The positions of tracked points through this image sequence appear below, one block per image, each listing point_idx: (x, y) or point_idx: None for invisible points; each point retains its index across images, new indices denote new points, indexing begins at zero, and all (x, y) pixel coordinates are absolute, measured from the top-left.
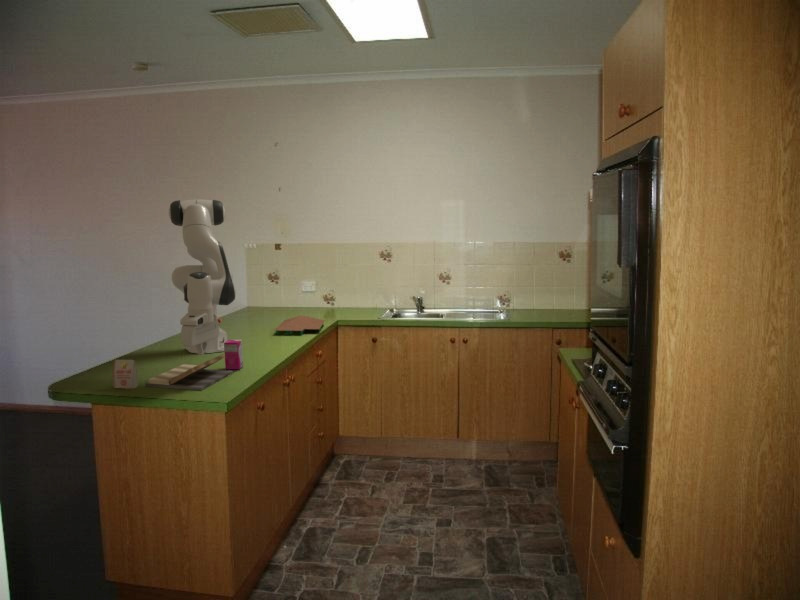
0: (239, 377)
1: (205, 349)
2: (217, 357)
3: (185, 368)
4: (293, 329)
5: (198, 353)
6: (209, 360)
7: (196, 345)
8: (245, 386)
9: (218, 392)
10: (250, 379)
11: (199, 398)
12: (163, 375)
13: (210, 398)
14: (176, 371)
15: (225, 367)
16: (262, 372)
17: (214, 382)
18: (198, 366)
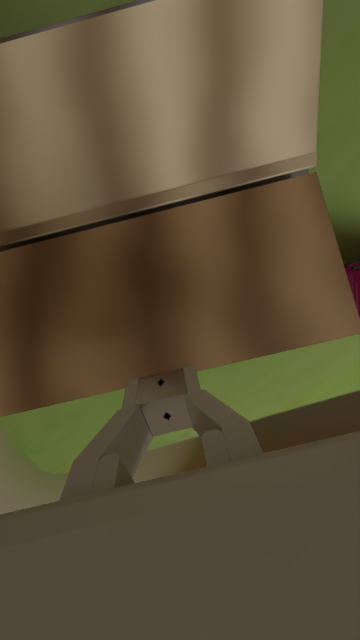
0: (253, 377)
1: (190, 423)
2: (287, 349)
3: (215, 112)
4: None
5: (127, 387)
6: (197, 370)
7: (76, 476)
8: (177, 441)
9: (91, 426)
10: (244, 413)
11: (15, 425)
12: (2, 109)
13: (39, 443)
14: (125, 115)
15: (346, 271)
16: (329, 395)
17: None
18: (73, 398)
